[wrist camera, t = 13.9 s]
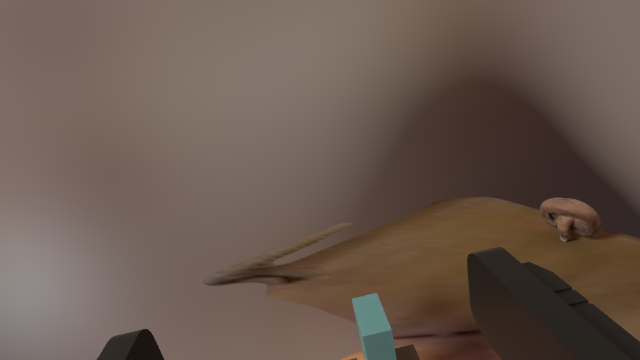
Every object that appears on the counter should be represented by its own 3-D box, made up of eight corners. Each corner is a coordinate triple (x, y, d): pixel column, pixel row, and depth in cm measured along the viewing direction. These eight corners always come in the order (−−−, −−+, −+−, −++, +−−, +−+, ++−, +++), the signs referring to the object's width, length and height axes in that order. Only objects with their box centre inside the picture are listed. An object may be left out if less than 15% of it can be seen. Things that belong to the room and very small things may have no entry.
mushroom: (531, 236, 60) (531, 192, 57) (563, 226, 61) (565, 183, 58) (570, 259, 53) (572, 210, 50) (605, 247, 53) (609, 199, 51)
